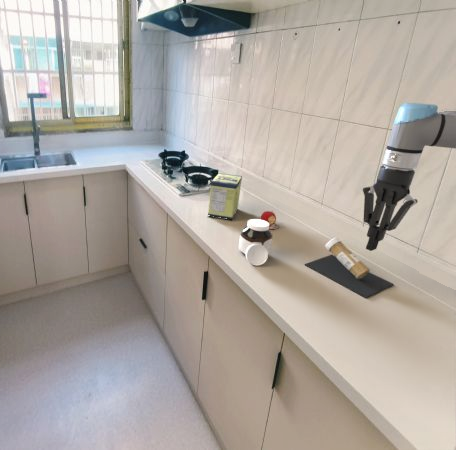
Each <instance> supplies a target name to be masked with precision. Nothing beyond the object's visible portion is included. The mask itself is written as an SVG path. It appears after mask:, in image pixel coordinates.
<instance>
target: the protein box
mask: <svg viewBox="0 0 456 450" xmlns="http://www.w3.org/2000/svg"><path fill="white" fill-rule="evenodd" d="M242 180H243V176H242V175H235V174H228V173H222V172H221V173H220V172H219V173H218V174H217V175H216V176H214V178H213V179H212V181H210V189H209V191H210V192H209V201H208V211H207V213H208V214H207V216H208V215H210V216H214V217H221V218H227V219H232V218H233V219H234V217H235V215H236V213H237V211H238V209H237V208H239V202H240V193H241V187H242ZM236 210H237V211H236ZM235 212H236V213H235ZM234 214H235V215H234ZM233 216H234V217H233ZM214 217H213V218H214ZM233 219H232V220H233Z"/></svg>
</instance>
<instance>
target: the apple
mask: <svg viewBox="0 0 456 450" xmlns="http://www.w3.org/2000/svg"><path fill="white" fill-rule="evenodd" d="M260 219H261V220H264V221H267V222H268V223H269V230H276V229H278V227H279V226H278V224H277V223H276V221H277V216H276V213H275V212H273V210H271V211H270V210H266V211H264V212H263V213H261V216H260Z"/></svg>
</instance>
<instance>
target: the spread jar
mask: <svg viewBox="0 0 456 450" xmlns="http://www.w3.org/2000/svg"><path fill="white" fill-rule="evenodd" d="M272 243H273V234H272V232H271V229H269V223H268V222H267V221H264V220H261V218H251V219H248V220H247V224H246V227H244V228H243V229H242V231H241V232H240V235H239V240H238V250H239V251H240V253H241V254H242V255H243V256H244V257H245V259H246V261H247V262H248V263H250V264H251V265H252V266H257V267H258V266H262V265H264V264H265V263H266V262H267V261H268V258H269V253H270V251H271V248H272Z"/></svg>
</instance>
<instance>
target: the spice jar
mask: <svg viewBox="0 0 456 450" xmlns="http://www.w3.org/2000/svg"><path fill="white" fill-rule="evenodd" d="M324 246H325V247H324V248H326V249H327V251H328V252H330V253H331V255H334V256H335V257H336V258H337V259H338V260H339V261H340V262H341V263H342V264H343V265H344V266H345V267H346V268H347V269H348V270H349V271H350V272H351V273H352V274H353V275H354V276H355V277H356V278H357V279H360V278H362V277H364V276H365V275H367V274H368V273H369V272H370V273H371V269H370V268H369V267H368V266H367V265H365V264H364V263H363V262H362V260H360V258H358V256H356V255H355V254H354V253H353V252H352V251H351V250H350V249H348V248H347V246H346V245H344V243H343V242H342V240H340V239H339V238H338V237H334V238H332V239H330V240H329V241H328V242H327V243H325V245H324Z"/></svg>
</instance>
